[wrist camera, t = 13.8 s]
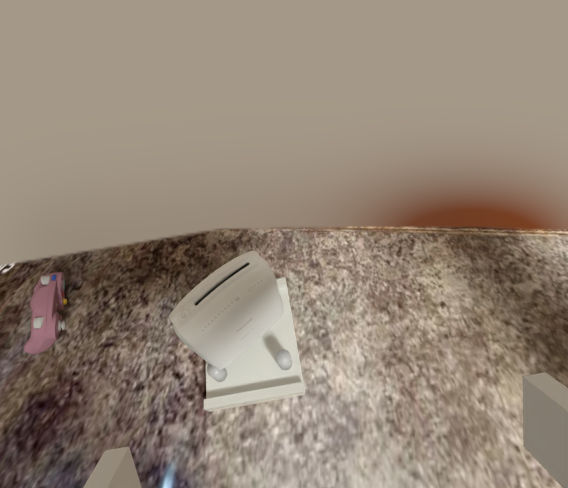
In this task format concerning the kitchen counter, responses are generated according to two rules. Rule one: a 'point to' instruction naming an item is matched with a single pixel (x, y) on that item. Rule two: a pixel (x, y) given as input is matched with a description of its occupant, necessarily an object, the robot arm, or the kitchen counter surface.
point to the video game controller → (46, 312)
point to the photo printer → (229, 310)
